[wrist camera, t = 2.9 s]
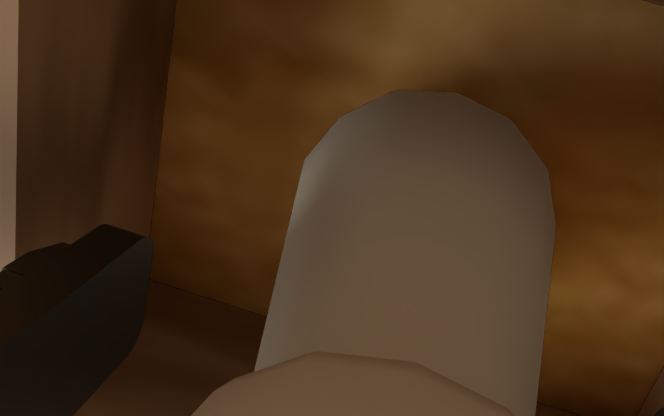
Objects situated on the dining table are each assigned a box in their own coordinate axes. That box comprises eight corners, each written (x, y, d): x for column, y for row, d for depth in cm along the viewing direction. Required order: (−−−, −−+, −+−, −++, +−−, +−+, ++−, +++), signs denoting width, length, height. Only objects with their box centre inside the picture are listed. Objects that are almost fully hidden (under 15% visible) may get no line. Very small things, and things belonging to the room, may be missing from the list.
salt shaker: (321, 273, 18) (18, 892, 6) (316, 73, 16) (-174, 388, 4) (532, 289, 16) (699, 1109, 5) (555, 75, 14) (963, 548, 3)
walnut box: (161, -153, 14) (-28, -232, 9) (899, 18, 13) (1229, 52, 7) (119, 292, 19) (-19, 418, 14) (644, 460, 18) (724, 681, 12)
